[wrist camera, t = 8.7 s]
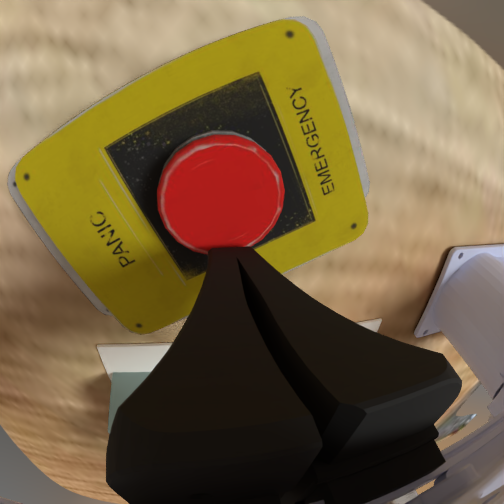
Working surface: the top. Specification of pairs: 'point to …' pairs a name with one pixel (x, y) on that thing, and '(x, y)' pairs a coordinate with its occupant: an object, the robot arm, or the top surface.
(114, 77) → the top surface
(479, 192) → the top surface
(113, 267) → the emergency button
